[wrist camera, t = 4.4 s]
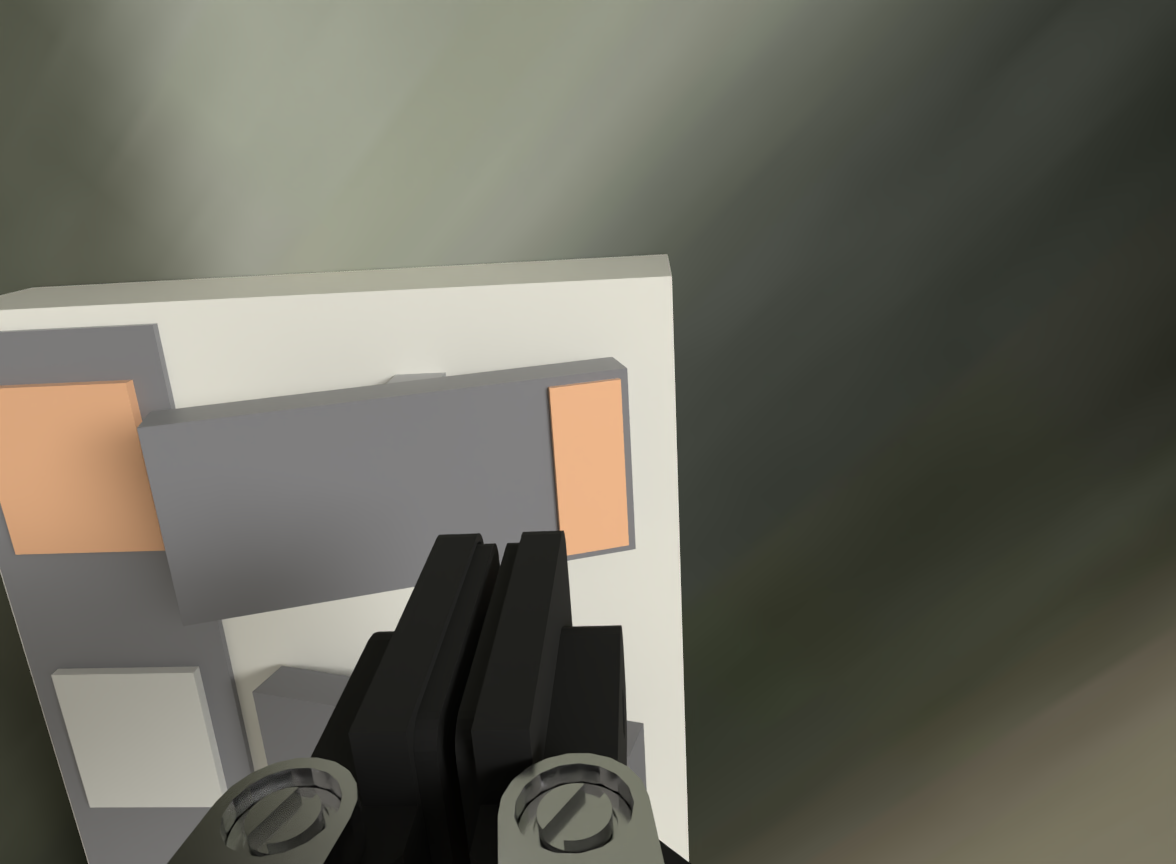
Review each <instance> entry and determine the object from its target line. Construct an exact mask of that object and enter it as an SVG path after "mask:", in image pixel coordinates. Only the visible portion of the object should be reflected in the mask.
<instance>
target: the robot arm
mask: <svg viewBox="0 0 1176 864" xmlns="http://www.w3.org/2000/svg"><path fill="white" fill-rule="evenodd" d="M167 864H691V863H689V862H688V861H687V860H685V859H684V858H683V857H681V856H680V855H679V854H678V853H676V852H675V851H674V850H672V849H671V848H670V847H668V846H667V845H666V844H664V843H663V842H662V841H660V840H659V837H658V833H657V829H656V824H655V820H654V815H653V811H652V807H651V802H650V798H649V795H648V793H647V790H646V788H645V786H644V784H643V782H642V780H641V779H640V778H639V777H638V776H637V775H636V774H635V773H634V772H633V771H632V770H631V769H630V768H629V767H628V766H627V709H626V683H625V664H624V646H623V632H622V625H610V626H573V625H572V612H571V600H570V587H569V574H568V562H567V549H566V539H565V533H564V530H562V531H532V532H523V533H522V535H521V539H520V543H507V545H506V548H505V551H504V555H503V558H502V562H501V565H500V561H499V553H498V548H497V545H496V543H490V544H484V542H483V538H482V535H481V534H480V533H472V534H443V535H438V537H437V538H436V540H435V543H434V545H433V547H432V549H431V551H430V554H429V556H428V558H427V560H426V563H425V565H424V567H423V569H422V571H421V574H420V576H419V578H418V580H417V582H416V585H415V587H414V589H413V591H412V593H411V596H410V598H409V600H408V602H407V604H406V607H405V609H404V611H403V613H402V616H401V618H400V620H399V622H398V624H397V627H396V629H395V631H380V632H375V633H373V634H372V636H371V637H370V639H369V640H368V642H367V644H366V646H365V648H364V650H363V652H362V654H361V656H360V658H359V660H358V662H357V664H356V666H355V668H354V670H353V672H352V674H351V676H350V678H349V680H348V682H347V684H346V686H345V688H344V691H343V693H342V695H341V697H340V699H339V701H338V703H337V705H336V707H335V709H334V711H333V713H332V715H331V717H330V719H329V721H328V723H327V725H326V727H325V729H324V731H323V733H322V735H321V737H320V739H319V741H318V743H317V745H316V747H315V749H314V751H313V753H312V755H311V757H310V758H294V759H290V760H286V761H281V762H277V763H273V764H271V765H269V766H266V767H264V768H262V769H259V770H257V771H255V772H252V773H251V774H249V775H247V776H246V777H244V778H243V779H241V780H240V781H238V782H237V783H235V784H234V785H232V786H231V787H230V788H229V789H228V790H227V791H226V792H225V793H224V794H223V795H222V796H221V797H220V798H219V799H218V800H217V801H216V802H215V803H214V805H213V806H212V807H211V808H210V810H209V811H208V812H207V814H206V815H205V816H204V817H203V819H202V820H201V821H200V822H199V824H198V825H197V826H196V827H195V829H194V830H193V831H192V832H191V834H190V835H189V836H188V838H187V839H186V840H185V841H184V843H183V844H182V845H181V846H180V848H179V849H178V850H177V851H176V853H175V854H174V855H173V857H172V858H171V859H170V860H169V862H168V863H167Z"/></svg>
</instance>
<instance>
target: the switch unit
mask: <svg viewBox="0 0 1176 864" xmlns="http://www.w3.org/2000/svg"><path fill="white" fill-rule="evenodd" d="M606 357H613V358H615V359H616V360H617V361H619V362H620V363H621V364H622V365H624V366H625V367H626V368H627V373H628V394H629V416H630V437H631V459H632V480H633V501H634V523H635V544H636V549H633V550H628V551H622V552H616V553H610V554H604V555H598V556H592V557H586V558H581V559H575V560H569V561H567V562H568V574H569V587H570V600H571V612H572V625H573V626H610V625H622V632H623V646H624V664H625V683H626V709H627V721H633V722H640V723H644V744H645V765H646V786H647V793H648V795H649V798H650V802H651V807H652V811H653V815H654V820H655V824H656V829H657V833H658V837H659V840H660V841H662V842H663V843H664V844H666V845H667V846H668V847H670V848H671V849H672V850H674V851H675V852H676V853H678V854H679V855H680V856H681V857H683V858H684V859H685V860H687V861H688V862H689V848H688V814H687V780H686V746H685V711H684V677H683V643H682V609H681V575H680V541H679V506H678V472H677V438H676V404H675V370H674V336H673V301H672V275H671V270H670V264H669V259H668V254H662V255H643V256H624V257H604V258H585V259H566V260H547V261H528V262H509V263H490V264H471V265H452V266H433V267H414V268H395V269H376V270H357V271H338V272H319V273H300V274H281V275H262V276H243V277H224V278H205V279H185V280H166V281H147V282H128V283H109V284H90V285H71V286H52V287H33V288H29V289H25V290H20V291H16V292H12V293H8V294H4V295H0V573H1V576H2V579H3V583H4V586H5V589H6V592H7V596H8V599H9V602H10V606H11V609H12V612H13V616H14V619H15V622H16V626H17V629H18V632H19V636H20V639H21V642H22V645H23V649H24V652H25V655H26V659H27V662H28V665H29V669H30V672H31V675H32V679H33V682H34V685H35V688H36V692H37V695H38V698H39V702H40V705H41V708H42V712H43V715H44V718H45V722H46V725H47V728H48V732H49V735H50V738H51V741H52V745H53V748H54V751H55V755H56V758H57V761H58V765H59V768H60V771H61V775H62V778H63V781H64V785H65V788H66V791H67V794H68V798H69V801H70V804H71V808H72V811H73V814H74V818H75V821H76V824H77V828H78V831H79V834H80V838H81V841H82V844H83V847H84V851H85V854H86V857H87V861H88V864H167V863H168V862H169V860H170V859H171V858H172V857H173V855H174V854H175V853H176V851H177V850H178V849H179V848H180V846H181V845H182V844H183V843H184V841H185V840H186V839H187V838H188V836H189V835H190V834H191V832H192V831H193V830H194V829H195V827H196V826H197V825H198V824H199V822H200V821H201V820H202V819H203V817H204V816H205V815H206V814H207V812H208V811H209V810H210V808H211V807H212V806H213V805H214V803H215V802H216V801H217V800H218V799H219V798H220V797H221V796H222V795H223V794H224V793H225V792H226V791H227V790H228V789H229V788H230V787H231V786H232V785H234V784H235V783H237V782H238V781H240V780H241V779H243V778H244V777H246V776H247V775H249V774H251V773H252V772H255V771H257V770H259V769H262V768H264V767H266V766H268V764H267V759H266V755H265V750H264V745H263V740H262V736H261V731H260V726H259V721H258V717H257V712H256V707H255V702H254V698H253V693H252V692H253V691H254V690H255V689H256V688H257V687H258V686H259V685H261V684H262V683H263V682H264V681H265V680H266V679H267V678H268V677H270V676H271V675H272V674H273V673H274V672H275V671H276V670H278V669H279V668H280V667H281V666H287V667H294V668H300V669H306V670H313V671H319V672H325V673H331V674H338V675H344V676H351V674H352V672H353V670H354V668H355V666H356V664H357V662H358V660H359V658H360V656H361V654H362V652H363V650H364V648H365V646H366V644H367V642H368V640H369V639H370V637H371V636H372V634H373V633H375V632H380V631H395V629H396V627H397V624H398V622H399V620H400V618H401V616H402V613H403V611H404V609H405V607H406V604H407V602H408V600H409V598H410V596H411V593H412V591H413V589H414V587H410V588H405V589H399V590H393V591H387V592H381V593H375V594H369V595H363V596H358V597H352V598H346V599H340V600H334V601H328V602H322V603H317V604H311V605H305V606H299V607H293V608H287V609H281V610H275V611H270V612H264V613H258V614H252V615H246V616H240V617H234V618H229V619H223V620H217V621H211V622H205V623H199V624H193V625H187V626H183V624H182V619H181V615H180V611H179V606H178V602H177V598H176V594H175V589H174V585H173V581H172V577H171V572H170V568H169V564H168V559H167V555H166V551H165V547H164V542H163V538H162V534H161V529H160V525H159V521H158V517H157V512H156V508H155V504H154V500H153V495H152V491H151V487H150V482H149V478H148V474H147V470H146V465H145V461H144V457H143V452H142V448H141V444H140V440H139V435H138V431H137V427H138V426H139V425H140V424H141V422H142V421H143V420H144V419H145V417H146V416H147V415H148V414H149V412H152V411H160V410H169V409H177V408H185V407H194V406H202V405H211V404H219V403H227V402H236V401H244V400H253V399H261V398H269V397H278V396H286V395H295V394H303V393H311V392H320V391H328V390H337V389H345V388H354V387H362V386H370V385H379V384H387V383H396V382H404V381H412V380H421V379H429V378H438V377H446V376H454V375H463V374H471V373H480V372H488V371H496V370H505V369H513V368H522V367H530V366H538V365H547V364H555V363H564V362H572V361H580V360H589V359H597V358H606Z"/></svg>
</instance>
